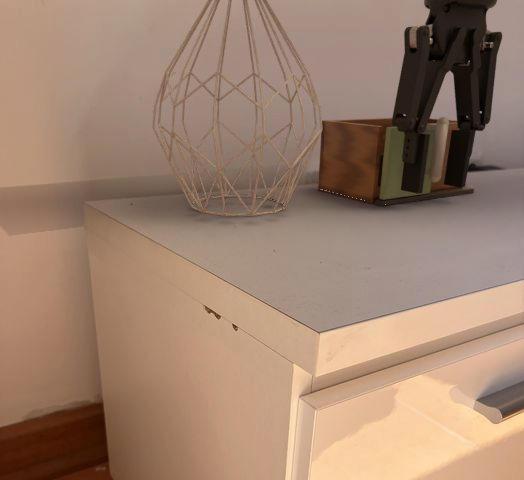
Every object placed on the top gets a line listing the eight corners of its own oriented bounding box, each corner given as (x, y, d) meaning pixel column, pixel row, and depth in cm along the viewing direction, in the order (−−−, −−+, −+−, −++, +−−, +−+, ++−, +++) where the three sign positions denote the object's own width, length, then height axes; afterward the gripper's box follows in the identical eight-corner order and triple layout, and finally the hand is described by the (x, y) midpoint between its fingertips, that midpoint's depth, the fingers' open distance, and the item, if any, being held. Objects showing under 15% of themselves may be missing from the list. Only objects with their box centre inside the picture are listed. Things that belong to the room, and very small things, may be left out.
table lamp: (195, 239, 55) (173, -362, 37) (115, 198, 72) (74, -229, 54) (369, 214, 66) (415, -259, 48) (264, 184, 83) (270, -175, 65)
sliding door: (452, 198, 71) (465, 116, 67) (405, 205, 67) (416, 118, 63) (425, 192, 75) (435, 114, 70) (379, 198, 70) (387, 116, 66)
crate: (473, 192, 79) (485, 123, 75) (381, 206, 70) (390, 127, 66) (406, 179, 88) (413, 116, 84) (317, 190, 79) (321, 120, 75)
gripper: (493, -22, 68) (461, 177, 78) (370, -41, 57) (351, 191, 67) (552, -30, 62) (509, 186, 72) (428, -53, 52) (398, 202, 62)
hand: (433, 188), depth 70 cm, fingers open, 7 cm apart
